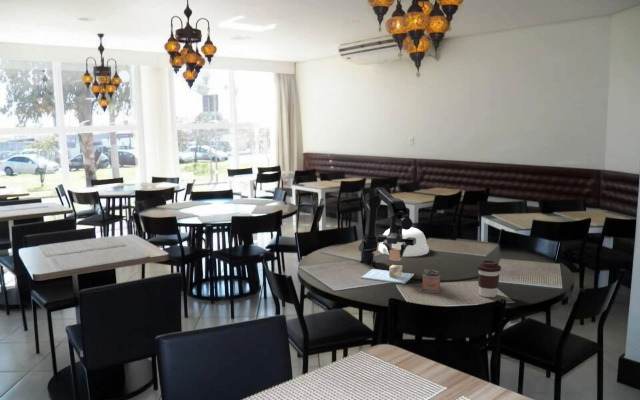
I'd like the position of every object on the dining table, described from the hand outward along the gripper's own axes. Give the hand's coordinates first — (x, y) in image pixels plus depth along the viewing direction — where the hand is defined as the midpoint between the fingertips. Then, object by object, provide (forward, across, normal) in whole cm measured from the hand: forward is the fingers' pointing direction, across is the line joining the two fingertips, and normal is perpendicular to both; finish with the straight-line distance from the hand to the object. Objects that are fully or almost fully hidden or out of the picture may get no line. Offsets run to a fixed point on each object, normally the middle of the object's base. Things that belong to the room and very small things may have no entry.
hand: (395, 257), depth 256 cm
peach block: (+1, 0, 0) cm, 1 cm away
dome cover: (+11, -13, +56) cm, 59 cm away
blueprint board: (+10, -4, 0) cm, 11 cm away
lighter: (+10, +21, -14) cm, 27 cm away
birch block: (+10, 0, 0) cm, 10 cm away
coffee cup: (+10, +45, -9) cm, 47 cm away
